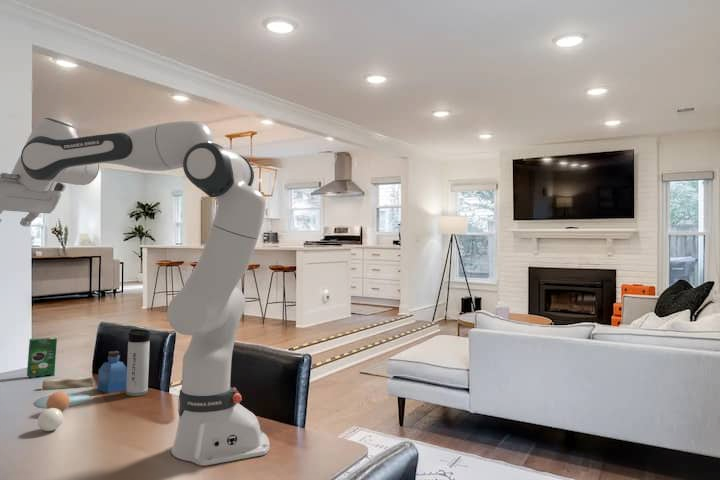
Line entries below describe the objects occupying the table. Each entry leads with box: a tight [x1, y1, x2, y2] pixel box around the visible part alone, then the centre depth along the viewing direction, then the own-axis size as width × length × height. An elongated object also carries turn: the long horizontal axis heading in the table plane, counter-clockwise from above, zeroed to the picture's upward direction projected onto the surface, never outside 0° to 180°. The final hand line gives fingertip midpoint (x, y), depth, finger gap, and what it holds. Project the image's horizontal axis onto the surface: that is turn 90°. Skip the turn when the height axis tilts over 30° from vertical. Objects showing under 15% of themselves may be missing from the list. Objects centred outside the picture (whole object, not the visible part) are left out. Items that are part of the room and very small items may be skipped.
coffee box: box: [26, 337, 58, 378], centre depth 171 cm, size 8×3×13 cm, turn 130°
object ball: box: [46, 391, 69, 413], centre depth 138 cm, size 6×6×6 cm
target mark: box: [34, 392, 90, 409], centre depth 148 cm, size 14×14×1 cm
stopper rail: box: [41, 376, 94, 390], centre depth 161 cm, size 14×2×2 cm, turn 115°
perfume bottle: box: [97, 350, 127, 394], centre depth 160 cm, size 6×6×12 cm
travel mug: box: [125, 328, 151, 397], centre depth 157 cm, size 6×7×20 cm
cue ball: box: [37, 408, 64, 432], centre depth 125 cm, size 6×6×6 cm
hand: (9, 225), depth 127 cm, fingers open, 8 cm apart
